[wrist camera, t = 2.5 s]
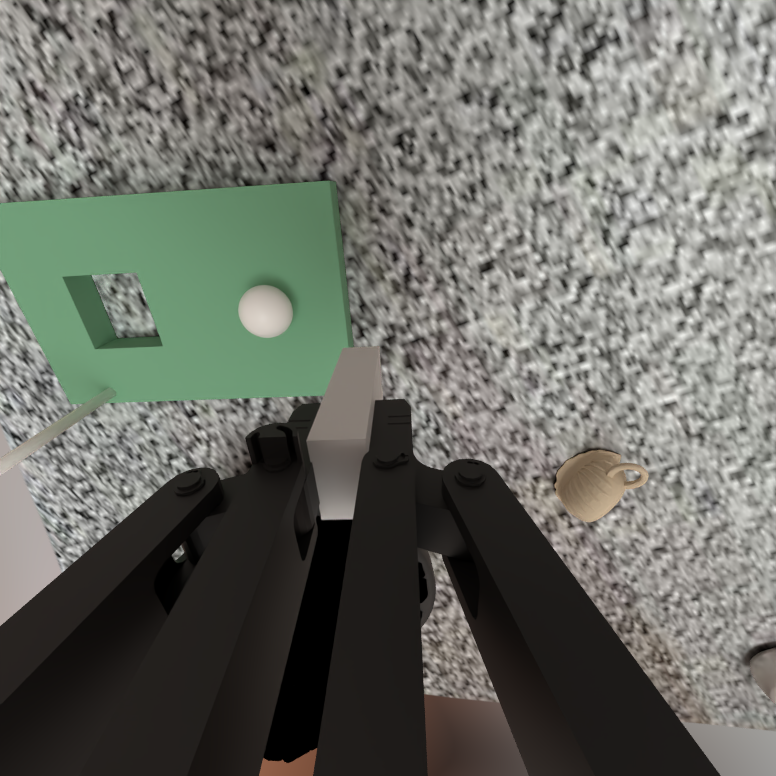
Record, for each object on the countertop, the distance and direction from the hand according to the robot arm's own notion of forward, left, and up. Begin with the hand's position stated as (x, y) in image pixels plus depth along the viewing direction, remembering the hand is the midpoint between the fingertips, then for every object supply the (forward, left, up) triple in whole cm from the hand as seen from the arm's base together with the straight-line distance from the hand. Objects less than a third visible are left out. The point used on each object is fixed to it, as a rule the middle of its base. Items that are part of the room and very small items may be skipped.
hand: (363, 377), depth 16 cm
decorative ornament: (+18, +19, -15) cm, 29 cm away
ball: (0, -8, -10) cm, 13 cm away
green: (0, -15, -15) cm, 21 cm away
